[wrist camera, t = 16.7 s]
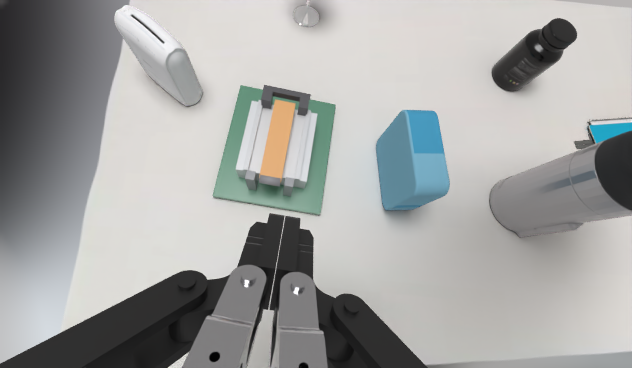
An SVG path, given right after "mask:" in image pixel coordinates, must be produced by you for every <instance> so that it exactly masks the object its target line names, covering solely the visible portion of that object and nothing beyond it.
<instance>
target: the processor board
mask: <svg viewBox="0 0 632 368" xmlns="http://www.w3.org/2000/svg"><path fill="white" fill-rule="evenodd" d="M275 99H276V100H281V101H286V102H291V103H296V104H295V110H294V116H293V121H292V126H291V132H290V137H289V143H288V148H287V153H286V159H285V164H284V169H283V175H282V180H281V183H280V187H279V186H273V185H268V184H262V183H259V175H260V170H261V165H262V160H263V156H264V151H265V146H266V141H267V136H268V132H269V127H270V122H271V117H272V112H273V108H274V103H275ZM334 112H335V105H334V104H330V103H325V102H320V101H315V100H310V94H306V93H301V92H296V91H291V90H286V89H281V88H277V87H272V86H267V85H264V88H263V90H261V89H256V88H251V87H247V86H242V85H241V86H240V90H239V94H238V98H237V102H236V106H235V110H234V114H233V118H232V122H231V125H230V129H229V133H228V137H227V141H226V145H225V149H224V153H223V157H222V161H221V165H220V168H219V172H218V176H217V180H216V184H215V188H214V192H213V197H214V198H220V199H226V200H232V201H238V202H244V203H250V204H255V205H261V206H267V207H273V208H279V209H285V210H291V211H297V212H303V213H309V214H315V215H320V212H321V205H322V198H323V191H324V184H325V176H326V169H327V162H328V155H329V148H330V141H331V134H332V127H333V120H334Z"/></svg>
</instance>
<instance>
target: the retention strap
mask: <svg viewBox="0 0 632 368" xmlns="http://www.w3.org/2000/svg"><path fill="white" fill-rule="evenodd" d="M295 104H296V103H291V102H286V101H281V100H276V99H275V103H274V108H273V112H272V117H271V122H270V127H269V132H268V136H267V141H266V146H265V151H264V156H263V160H262V165H261V170H260V175H259V183H262V184H268V185H273V186H279V187H280V183H281V180H282V175H283V169H284V164H285V159H286V153H287V148H288V143H289V137H290V132H291V126H292V121H293V116H294V110H295Z"/></svg>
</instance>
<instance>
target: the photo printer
mask: <svg viewBox="0 0 632 368" xmlns="http://www.w3.org/2000/svg"><path fill="white" fill-rule="evenodd" d="M114 19H115V25H116V27H117V29H118V30H119V32H120V33H121V35H122V36H123V38H124V40H125V41H126V43H127V44H128V46H129V47H130V49H131V50H132V52H133V53H134V55H135V56H136V58H137V59H138V61H139V62H140V64H141V65H142V67H143V68H144V70H145V71H146V73H147V74H148V75H149V76H150V77H151V78H152V79H153V80H154V81H155V82H156V83H158V84H159V85H160V86H161V87H162V88H163V89H164V90H166V91H167V92H168V93H169V94H170V95H172V96H173V97H174V98H175V99H177V100H178V101H179V102H181V103H182V104H184V105H185V106H188V105H194V104H196V103H197V102H198V101H199V100H200V99H201V94H202V93H203V92H202V89H201V86H200V84H199V81H198V79H197V77H196V74H195V72H194V69H193V67H192V64H191V62H190V59H189V57H188V54H187V52H186V51H185V49H184V48H183V46H182V45H181V43H180V42H179V41H178V40H177V39H176V38H175V37H174V36H173V35H172V34H171V33H170V32H169V31H168V30H167V29H165V28H164V27H163V26H162V25H161V24H160V23H159V22H157V21H156V20H155V19H153V18H152V17H151V16H149V15H148V14H146V13H145V12H143V11H141V10H140V9H138V8H135V7H133V6H129V5H124V6H123V7H122V8H121V9H119V10H117V11H116V13H115V18H114Z"/></svg>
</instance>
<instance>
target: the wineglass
mask: <svg viewBox="0 0 632 368" xmlns="http://www.w3.org/2000/svg"><path fill="white" fill-rule="evenodd" d="M309 3H310V0H307V4H306V5H305V6H299V7H297V8H296V9H295V10H294V13H293V17H294V19H295V21H296V22H297V23H298V24H300V25H302V26H305V27H311V26H314V25H316V24H317V23H318V21H319V13H318V12H317V11H316V10H315V9H314V8H312V7H310V6H309Z"/></svg>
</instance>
